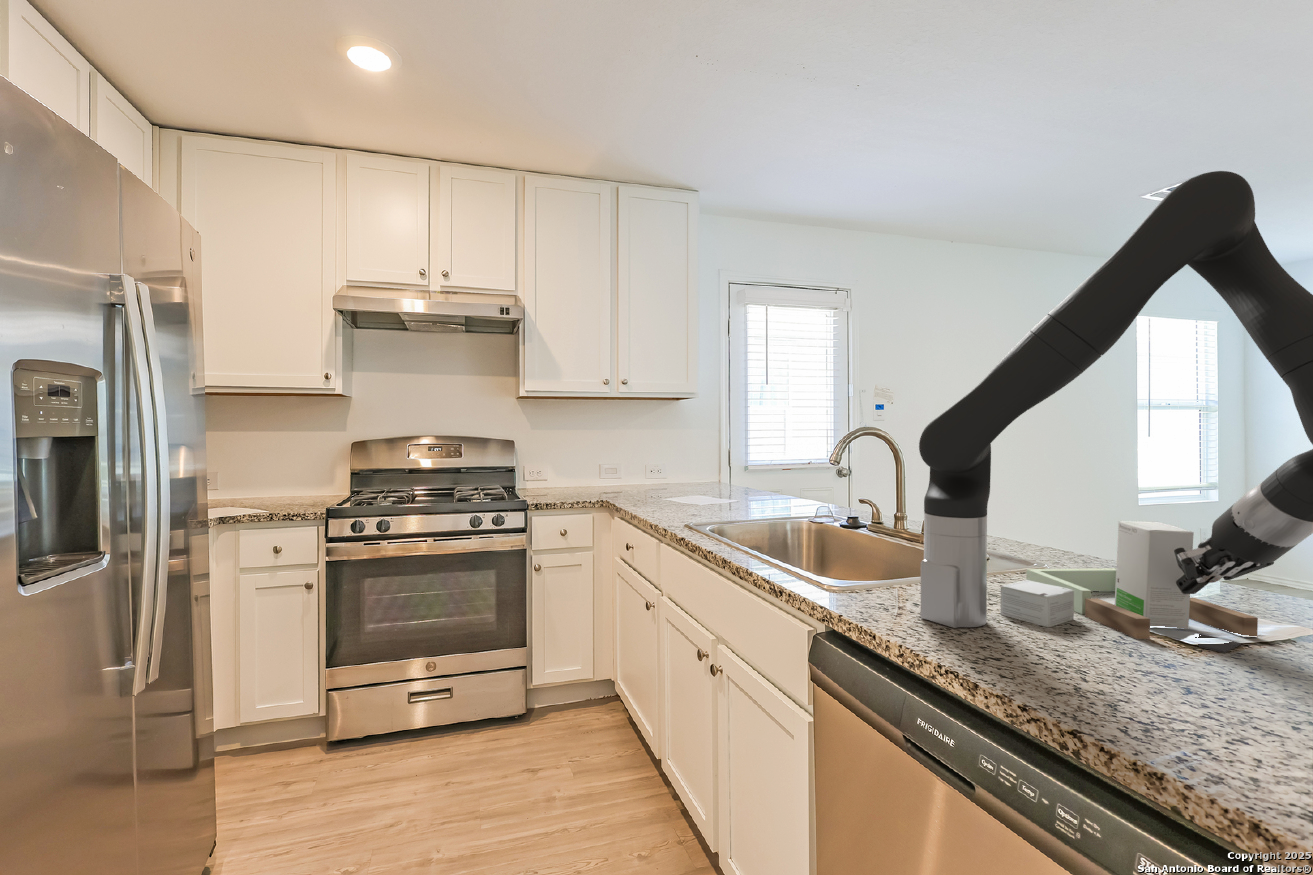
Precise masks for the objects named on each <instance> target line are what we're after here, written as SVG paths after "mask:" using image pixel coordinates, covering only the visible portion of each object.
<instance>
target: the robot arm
mask: <svg viewBox="0 0 1313 875" xmlns="http://www.w3.org/2000/svg"><path fill="white" fill-rule="evenodd" d="M1185 266H1188V267H1190V268H1191V269H1192V270H1193V271H1195V273H1197V274H1198V276H1200V277H1201V278H1203V280H1205V281H1206V282H1207V283H1208V284H1209V285H1210V286H1211V287H1212V288H1213V289H1214V290H1215V292H1217V294H1219V296H1220V297H1221V298H1222V299H1223V300H1224V302H1225V303H1226V304H1227V306H1229V308H1230V309H1231V311H1232V312H1233V313H1234V314H1235V316H1236V317H1237V319H1238V320H1239V322H1240V323H1241V325H1242V326H1243V328H1244V329H1245V330H1246V332H1247V333H1248V335H1249V336H1250V337H1251V340H1252V341H1253V342H1254V344H1255V345H1256V346H1257V348H1258V349H1259V351H1260V352H1261V353H1262V355H1263V356H1264V357H1265V359H1266V360H1267V361H1268V363H1269V364H1270V365H1271V367H1272V368H1273V369H1274V370H1275V372H1276V373H1277V375H1278V376H1279V377H1280V378H1281V379H1282V381H1283V382H1284V383H1285V385H1286V386H1287V387H1288V388H1289V390H1290V392H1291V396H1292V399H1293V403H1294V406H1295V409H1296V411H1297V414H1298V417H1299V419H1300V422H1301V424H1302V427H1303V430H1304V432H1305V435H1306V437H1307V438H1308V440H1309V441H1310V443H1311V445H1312V446H1313V294H1312V292H1310V291H1309V290H1307V289H1306V288H1305V287H1304V286H1303V285H1301V284H1300V282H1298V281H1296V279H1294V278H1293V277H1292V276H1291V274H1289V273H1288V271H1286V269H1285V268H1283V266H1281V264H1280V263H1279V262H1278V260H1277V259H1276V258H1275V257H1274V255H1273V253H1272V252H1271V251H1270V249H1269V247H1268V246H1267V244H1266V242H1265V240H1264V238H1263V236H1262V233H1261V232H1260V231H1259V228H1258V226H1257V223H1256V202H1255V196H1254V192H1253V189H1252V187H1251V185H1250V183H1249V182H1248V181H1247V180H1246V179H1245V178H1244V177H1243V176H1242V175H1240V174H1238V173H1237V172H1236V173H1235V172H1232V171H1227V170H1216V171H1209V172H1204V173H1201V174H1198V175H1196V176H1194V177H1191V178H1189V179H1187V180H1185V181H1183V182H1182V183H1180V184H1179V185H1178V186H1176V187H1175V188H1173V189H1172V190H1171V191H1170V192H1169V193H1168V194H1167V195H1166V196H1165V197H1164V198H1163V199H1162V200H1161V201H1160V202H1158V204H1157V205H1156V206H1155V207H1154V209H1153V210H1152V211H1151V212H1150V213H1149V215H1147V217H1146V218H1145V219H1144V220H1143V221H1142V222H1141V224H1140V225H1139V226H1138V227H1137V228H1136V229H1135V230H1134V232H1133V233H1131V235H1130V236H1128V237H1127V239H1126V240H1125V241H1124V243H1122V245H1120V247H1119V248H1118V249H1117V250H1116V251H1115V252H1114V253H1113V254H1112V255H1111V256H1110V257H1109V258H1108V259H1107V260H1106V261H1105V262H1104V263H1102V264H1101V265H1100V266H1099V267H1098V268H1097V269H1096V270H1095V271H1093V272H1092V273H1091V274H1090V275H1089V276H1088V277H1087V278H1085V279H1084V280H1083V281H1082V282H1081V283H1080V284H1079V285H1078V286H1077V287H1076V288H1075V289H1073V290H1072V291H1071V292H1070V293H1069V294H1068V295H1067V296H1066V297H1065V298H1064V299H1063V300H1061V302H1060V303H1058V304H1057V305H1056V306H1055V307H1053V308H1052V309H1051V310H1050V311H1049V312H1048V313H1047V314H1046V315H1045V316H1044V317H1043V318H1042V319H1041V320H1039V322H1038V323H1036V324H1035V325H1034V327H1033V326H1032V328H1030V330H1029V331H1028V332H1027V333H1026V334H1025V335H1024V336H1023V337H1022V338H1021V339H1020V340H1019V341H1018V342H1017V343H1016V345H1014V346H1013V347H1012V348H1011V349H1010V350H1009V351H1008V352H1007V354H1005V355H1004V357H1002V359H1000V361H999V362H998V363H997V364H996V365H995V366H994V367H993V368H992V370H991V371H990V372H989V373H988V374H987V375H986V376H985V377H984V378H983V380H981V381H980V382H979V384H977V385H976V386H975V387H974V388H973V389H971V390H970V391H969V392H968V393H967V394H965V396H963V397H961V398H960V399H959V400H958V401H957V402H955V403H954V404H953V405H952V406H949V408H948V409H946V410H945V411H943V412H942V413H941V414H940V415H938V416H937V417H935V418H934V419H933V420H931V421H930V422H929V423H928V424H927V425H926V426H925V428H924V429H923V430H922V431H921V432H922V433H921V435H920V437H919V440H918V441H919V442H918V448H919V449H918V450H919V455H920V458H921V459H922V461H923V462H924V463H925V465H927V467H929V482H928V487H927V490H926V493H925V496H924V499H923V501H924V502H923V560H921V561H920V618H921V619H923V620H927V621H931V622H934V623H937V624H940V625H944V626H946V627H950V628H953V629H958V628H978V627H982V626H984V625H986V624H987V620H988V618H987V610H988V609H987V608H988V607H987V606H988V604H987V602H988V598H987V594H988V592H987V591H988V589H987V588H988V586H987V584H988V583H987V582H988V578H987V576H988V575H987V573H988V571H987V570H988V565H987V563H988V562H987V561H988V559H987V557H988V544H987V543H988V503H989V498H990V495H991V470H992V469H991V468H992V446H991V445H992V443H993V442H994V440H996V438H997V437H999V435H1001V433H1003V431H1004V430H1006V428H1007V427H1008V426H1009V425H1011V424H1012V423H1013V422H1014V421H1015V420H1016V419H1017V418H1019V417H1020V416H1022V415H1023V414H1025V413H1026V412H1027V411H1028V410H1031V409H1032V408H1034V407H1035V406H1037V405H1039V404H1040V403H1042V402H1043V401H1045V400H1046V399H1048V398H1049V397H1051V396H1053V395H1055V393H1058V392H1059V391H1060V390H1062V389H1063V388H1064V387H1066V386H1067V385H1069V384H1070V383H1071V382H1073V381H1074V380H1075V379H1077V378H1078V377H1079V376H1080V375H1082V374H1083V373H1084V372H1086V370H1087V369H1089V368H1090V367H1091V366H1092V365H1093V364H1094V363H1096V361H1098V360H1099V359H1100V358H1101V357H1102V356H1104V355H1105V354H1106V353H1107V352H1108V351H1109V350H1111V348H1112V347H1113V346H1114V345H1115V344H1116V343H1117V342H1118V340H1119V339H1121V337H1122V336H1123V335H1124V333H1125V332H1126V331H1127V329H1128V328H1130V326H1131V325H1132V324H1133V322H1134V321H1135V319H1136V318H1137V316H1138V315H1139V314H1140V313H1141V311H1142V310H1143V308H1144V307H1145V305H1147V303H1148V302H1149V300H1150V299H1151V298H1152V297H1153V295H1155V294H1156V292H1157V291H1158V290H1159V289H1160V288H1161V287H1162V286H1163V285H1164V284H1165V283H1166V282H1167V281H1169V280H1170V279H1171V278H1172V277H1173V276H1174V275H1175V274H1177V273H1178V272H1180V271H1181V270H1182V269H1183V268H1184V267H1185ZM1312 534H1313V448H1312V449H1310V450H1307V451H1305V452H1302V453H1299V454H1297V455H1295V456H1293V457H1292V458H1290V459H1288V460H1286V461H1285V462H1284V463H1282V464H1281V465H1279V467H1277V469H1276V470H1274V471H1273V472H1272V473H1271V474H1269V476H1268V477H1266V478H1265V479H1264V480H1263V481H1262V482H1260V483H1259V484H1257V485H1256V486H1254V487H1253V488H1251V489H1249V490H1248V491H1247V492H1246V493H1245V494H1244V495H1242V496H1241V497H1240V498H1239V499H1238V500H1236V501H1235V502H1234V503H1233V504H1232V505H1231V506H1229V507H1228V508H1227V510H1225V511H1224V512H1223V513H1222V514H1221V515H1219V517H1217V518H1216V519H1215V520H1214V521H1213V523H1212V526H1211V534H1210V535H1211V536H1210V537H1208V538H1207V539H1204V540H1203V541H1201V542H1200V543H1199V544H1198V545H1197V547H1196V548H1193V550H1190V551H1189V550H1186V551H1185V549H1184V548H1177V549H1175V550H1174V553H1175V557H1176V560H1177V564H1178V566H1179V568H1180V569H1181V570H1182V571H1183V573H1184V575H1183V576H1182V577H1181V578H1179V579H1178V580H1177V581H1176V584H1177V586H1178V587H1179V589H1180V590H1181V592H1182V593H1183V594H1190V595H1195V594H1197V593H1198V592H1199V591H1201V590H1202V589H1203V588H1205V587H1206V586H1207V585H1208V584H1210V583H1212V584H1213V583H1216V582H1218V581H1220V580H1221V579H1223V580H1224V581H1231V580H1233V579H1234V580H1235V579H1237V578H1239V577H1242V576H1244V575H1248V574H1250V573H1253V572H1256V571H1260V570H1262V569H1265V568H1268V567H1270V566H1273V565H1274V563H1275V562H1276V561H1277V560H1278V559H1279V558H1282V557H1283V556H1284V555H1285V554H1286V553H1287V552H1289V551H1291V550H1292V549H1294V548H1295V547H1296V546H1297V545H1299V544H1301V543H1302V542H1303V541H1304V540H1307V538H1308V537H1310V536H1311V535H1312Z"/></svg>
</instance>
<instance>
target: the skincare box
mask: <svg viewBox="0 0 1313 875" xmlns="http://www.w3.org/2000/svg"><path fill="white" fill-rule="evenodd" d="M1117 524H1118V525H1117V526H1118V527H1117V546H1116V586H1115V591H1114V605H1116V606H1118V607H1121V608H1124V609H1126V610H1129V611H1131V612H1134V613H1136V614H1139V615H1141V616H1144V617H1147V618H1149V619H1150V626H1165V627H1177V628H1185V629H1184V630H1189V629H1188V628H1189V624H1190V623H1189V620H1190V619H1189V607H1190V598H1191V594H1183V593H1182V592H1181V590H1180V589H1179V587H1178V586H1177V584H1176V581H1177V580H1178V579H1179V578H1181V577H1182V576H1183V575H1184V573H1183V571H1182V570H1181V569H1180V568H1179V566H1178V564H1177V560H1176V557H1175V553H1174V550H1175V549H1177V548H1184V549H1185V551H1186V550H1189V551H1190V550H1193V549H1194V531H1191V530H1188V529H1184V528H1181V527H1179V526H1176V525H1171V524H1167V523H1164V522H1160V521H1143V520H1142V521H1140V520H1139V521H1137V520H1136V521H1135V520H1134V521H1133V520H1118V521H1117Z"/></svg>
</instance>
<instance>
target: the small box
mask: <svg viewBox="0 0 1313 875" xmlns="http://www.w3.org/2000/svg"><path fill="white" fill-rule="evenodd" d="M1074 612H1075V611H1074V591H1073V590H1071V589H1068V588H1063V587H1059V586H1053V585H1048V584H1043V583H1039V582H1034V581H1030V580H1026V579H1023V580H1020V581H1017V582H1016V581H1015V582H1011V583H1008V584H1003V585H1000V615H1001V616H1004V617H1009V618H1012V619H1016V620H1019V621H1023V622H1027V623H1030V624H1034V625H1037V626H1041V627H1045V628H1051V627H1054V626H1056V625H1061V624H1063V623H1067V622H1070V621H1074V618H1075V617H1074V616H1075V613H1074Z"/></svg>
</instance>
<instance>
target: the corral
mask: <svg viewBox="0 0 1313 875" xmlns="http://www.w3.org/2000/svg"><path fill="white" fill-rule="evenodd" d="M1025 571H1026V577H1025V578H1026V579H1025V580H1030V581H1034V582H1039V583H1043V584H1048V585H1053V586H1059V587H1063V588H1068V589H1071V590H1073V591H1074V612H1076V613H1078V614H1079V615H1085V598H1092V592H1093V591H1099V592H1115V586H1116V568H1109V567H1108V568H1026V570H1025Z"/></svg>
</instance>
